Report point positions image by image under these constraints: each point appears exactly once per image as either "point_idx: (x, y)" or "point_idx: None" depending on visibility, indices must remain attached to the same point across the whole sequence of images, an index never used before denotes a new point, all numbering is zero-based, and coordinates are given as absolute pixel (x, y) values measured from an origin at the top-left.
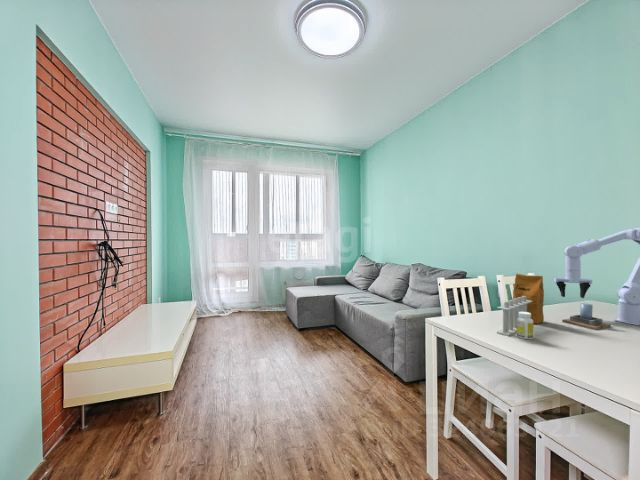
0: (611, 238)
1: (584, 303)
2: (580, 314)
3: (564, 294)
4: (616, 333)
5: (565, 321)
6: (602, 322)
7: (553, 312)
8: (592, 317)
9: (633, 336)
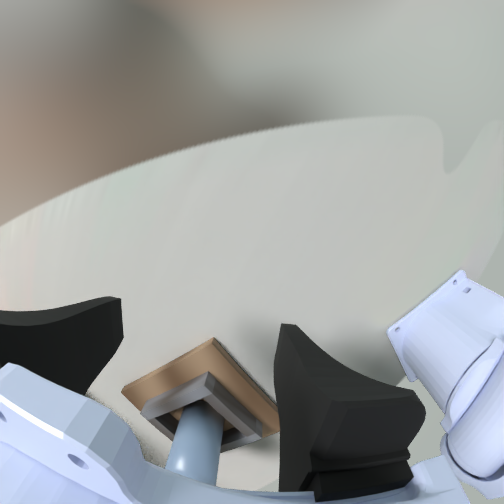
0: None
1: (190, 470)
2: (175, 433)
3: (107, 356)
4: (247, 467)
5: (130, 398)
6: (274, 412)
7: (149, 203)
8: (233, 424)
9: (278, 477)
